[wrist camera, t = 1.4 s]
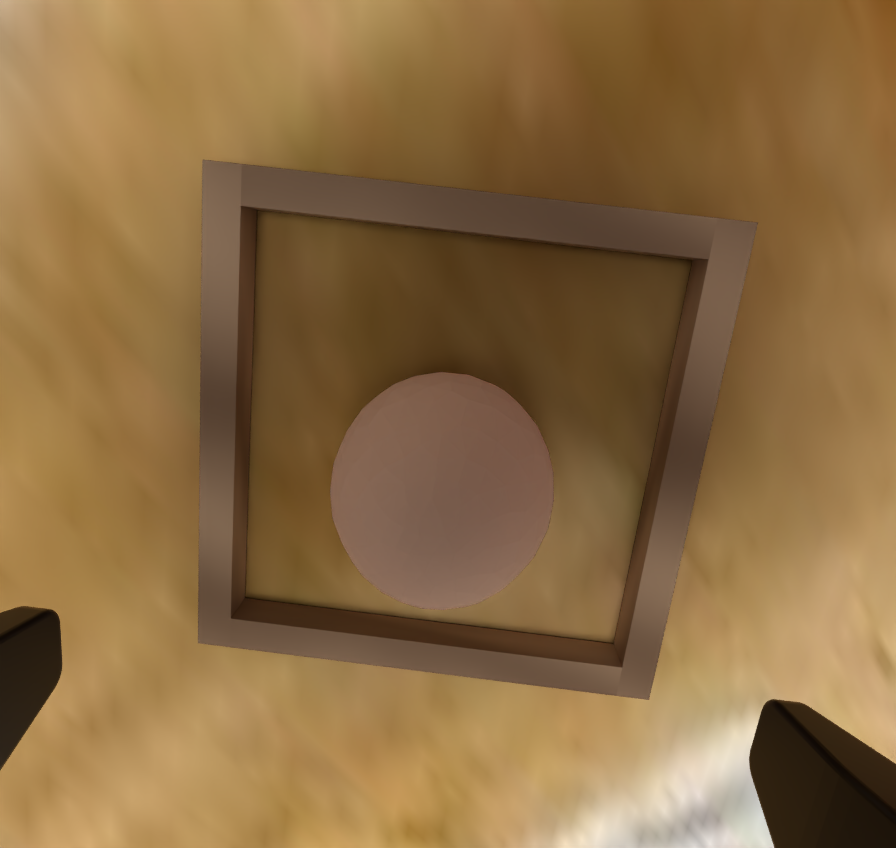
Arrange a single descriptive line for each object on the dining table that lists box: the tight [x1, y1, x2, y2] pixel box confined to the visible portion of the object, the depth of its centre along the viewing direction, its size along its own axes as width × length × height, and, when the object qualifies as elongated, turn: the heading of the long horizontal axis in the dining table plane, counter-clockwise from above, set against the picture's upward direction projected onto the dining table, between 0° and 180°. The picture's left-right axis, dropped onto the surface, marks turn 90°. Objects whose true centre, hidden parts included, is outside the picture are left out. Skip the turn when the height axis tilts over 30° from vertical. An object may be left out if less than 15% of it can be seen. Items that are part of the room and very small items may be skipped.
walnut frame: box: [198, 160, 758, 700], centre depth 18 cm, size 14×14×1 cm
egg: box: [330, 372, 554, 610], centre depth 15 cm, size 5×5×7 cm
